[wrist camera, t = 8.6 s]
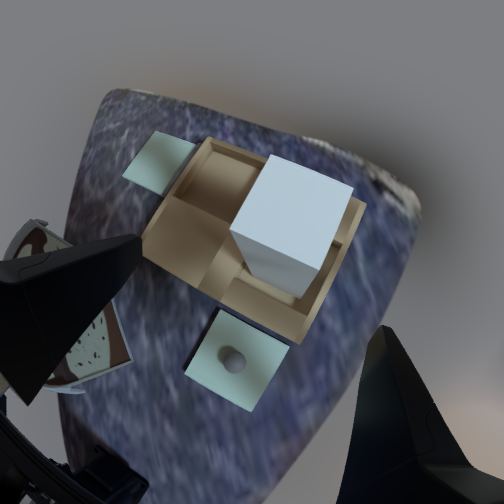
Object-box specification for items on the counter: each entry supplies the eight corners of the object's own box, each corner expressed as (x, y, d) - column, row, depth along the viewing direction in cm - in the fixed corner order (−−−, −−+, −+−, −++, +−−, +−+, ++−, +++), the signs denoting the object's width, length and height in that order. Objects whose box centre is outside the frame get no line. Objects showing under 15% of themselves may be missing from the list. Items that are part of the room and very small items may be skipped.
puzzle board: (257, 413, 20) (255, 420, 18) (65, 279, 25) (52, 275, 23) (360, 213, 24) (366, 204, 22) (159, 130, 28) (153, 118, 26)
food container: (58, 275, 25) (-13, 248, 15) (101, 250, 25) (30, 212, 15) (90, 393, 21) (14, 409, 12) (140, 378, 22) (65, 397, 12)
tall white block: (300, 299, 22) (319, 270, 11) (253, 277, 22) (229, 228, 12) (321, 253, 22) (353, 188, 12) (275, 232, 23) (270, 154, 13)
